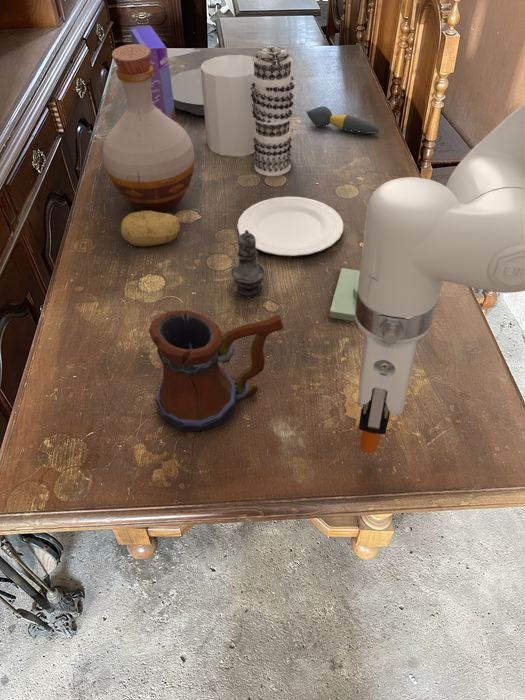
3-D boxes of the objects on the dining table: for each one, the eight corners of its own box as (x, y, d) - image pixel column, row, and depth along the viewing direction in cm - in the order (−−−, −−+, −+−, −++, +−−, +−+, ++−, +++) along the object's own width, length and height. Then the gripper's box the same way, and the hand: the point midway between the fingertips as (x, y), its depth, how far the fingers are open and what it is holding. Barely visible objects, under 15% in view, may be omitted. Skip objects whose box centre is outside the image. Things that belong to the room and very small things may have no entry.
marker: (378, 440, 70) (390, 385, 62) (376, 455, 69) (388, 400, 61) (361, 437, 71) (370, 382, 63) (358, 451, 69) (367, 396, 61)
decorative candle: (298, 162, 127) (302, 45, 109) (281, 180, 122) (283, 60, 104) (264, 154, 130) (262, 40, 112) (246, 171, 125) (241, 53, 107)
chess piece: (229, 297, 93) (225, 239, 85) (235, 276, 97) (231, 218, 89) (263, 300, 93) (262, 241, 84) (267, 279, 97) (267, 221, 88)
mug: (274, 361, 83) (274, 285, 72) (289, 421, 75) (292, 345, 64) (156, 377, 81) (138, 300, 70) (158, 440, 73) (138, 365, 62)
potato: (126, 234, 108) (120, 206, 103) (182, 231, 108) (178, 203, 103) (122, 253, 103) (116, 225, 98) (181, 250, 103) (177, 222, 99)
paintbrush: (380, 129, 139) (383, 110, 135) (377, 138, 136) (379, 118, 132) (306, 120, 144) (307, 101, 140) (301, 128, 141) (302, 108, 137)
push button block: (420, 286, 95) (423, 272, 93) (415, 331, 87) (418, 318, 85) (340, 274, 98) (342, 260, 95) (328, 317, 90) (330, 303, 87)
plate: (334, 269, 98) (335, 261, 97) (225, 255, 102) (224, 247, 101) (349, 210, 113) (349, 201, 111) (252, 199, 116) (251, 191, 115)
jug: (121, 181, 122) (88, 33, 101) (200, 177, 123) (184, 29, 102) (110, 230, 109) (70, 70, 87) (199, 225, 109) (181, 65, 88)
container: (275, 137, 137) (275, 60, 124) (246, 161, 128) (243, 81, 115) (227, 126, 142) (222, 51, 129) (196, 148, 133) (187, 70, 120)
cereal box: (180, 156, 131) (166, 46, 113) (161, 159, 130) (143, 49, 112) (165, 127, 142) (150, 24, 125) (147, 130, 141) (129, 26, 124)
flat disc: (273, 115, 146) (273, 98, 143) (170, 127, 142) (168, 109, 139) (251, 78, 165) (251, 63, 162) (160, 88, 161) (157, 72, 158)
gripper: (429, 372, 47) (398, 483, 60) (438, 263, 57) (410, 377, 71) (343, 358, 48) (331, 469, 61) (367, 254, 59) (352, 368, 72)
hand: (373, 419), depth 66 cm, fingers closed on marker, 2 cm apart
